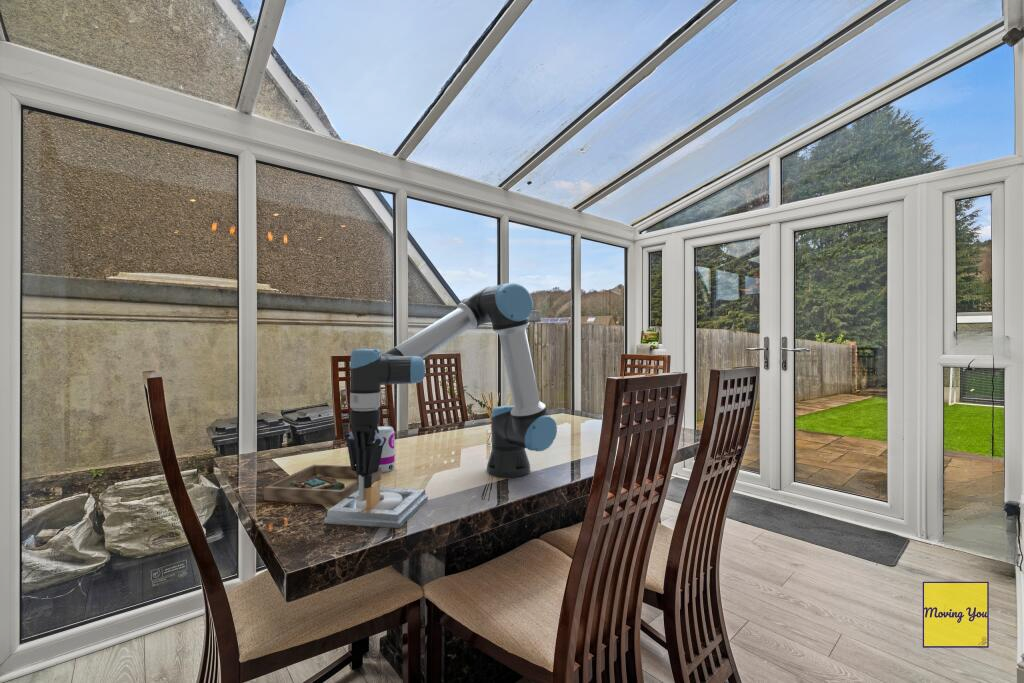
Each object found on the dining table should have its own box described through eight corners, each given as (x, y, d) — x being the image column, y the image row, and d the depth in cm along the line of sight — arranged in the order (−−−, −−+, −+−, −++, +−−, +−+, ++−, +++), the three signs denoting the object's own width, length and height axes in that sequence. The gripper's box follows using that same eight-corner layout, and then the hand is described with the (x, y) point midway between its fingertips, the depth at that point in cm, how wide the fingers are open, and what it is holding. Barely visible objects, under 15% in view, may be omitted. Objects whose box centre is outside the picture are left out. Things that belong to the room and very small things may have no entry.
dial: (367, 496, 131) (367, 473, 131) (408, 498, 130) (408, 474, 130) (346, 514, 119) (346, 488, 119) (391, 515, 117) (391, 489, 117)
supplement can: (398, 467, 167) (397, 425, 166) (389, 474, 158) (389, 430, 158) (376, 466, 167) (375, 425, 167) (366, 473, 159) (366, 430, 159)
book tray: (381, 479, 152) (381, 467, 152) (342, 506, 128) (342, 491, 128) (314, 476, 157) (314, 464, 157) (264, 501, 133) (263, 487, 132)
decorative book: (316, 483, 151) (316, 467, 151) (346, 494, 140) (346, 477, 140) (274, 494, 140) (274, 477, 140) (303, 507, 129) (302, 489, 129)
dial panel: (427, 499, 133) (427, 488, 133) (399, 528, 113) (399, 514, 113) (362, 496, 136) (362, 485, 136) (324, 523, 116) (324, 510, 116)
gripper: (336, 408, 119) (335, 499, 119) (371, 412, 113) (371, 509, 113) (359, 404, 126) (358, 491, 126) (394, 408, 119) (393, 499, 120)
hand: (364, 499), depth 120 cm, fingers closed
